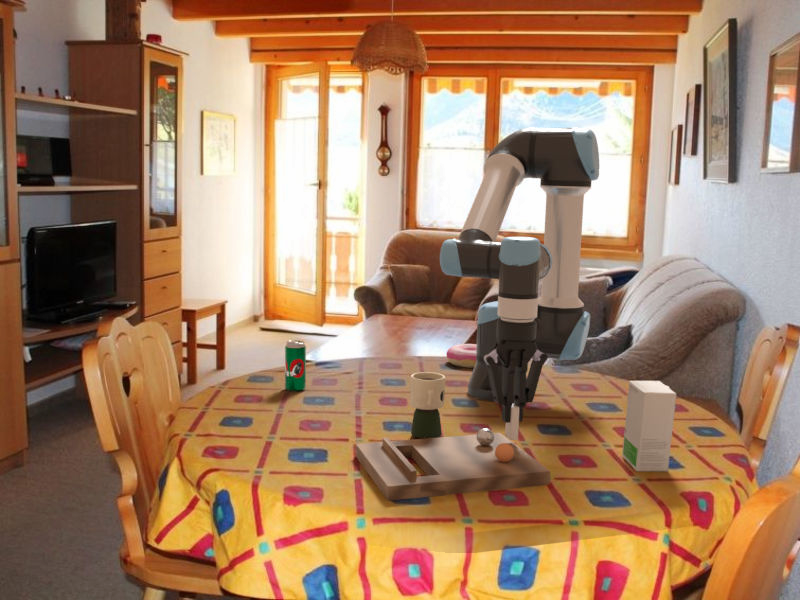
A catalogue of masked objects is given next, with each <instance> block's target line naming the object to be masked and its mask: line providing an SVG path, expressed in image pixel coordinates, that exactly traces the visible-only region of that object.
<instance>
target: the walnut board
mask: <svg viewBox="0 0 800 600" xmlns="http://www.w3.org/2000/svg"><path fill="white" fill-rule="evenodd" d="M493 434H494V441H493V442H492V444H490V445H488V446H483V445H481V444H479V442H478V441H477V434H467V435H454V436H453V435H451V436H440V437H438V438H418V439H417V438H416V439H401V440H390V438H388V437H382V441H377V442H376V441H375V442H363V443H362V442H361V443H355V457H356V459H357V460H358V461H359V463H360V464H361V466H362V468H364V470H365V471H366V473H367V474H368V475H369V477H370V478H371V480H372V481H373V482H374V484H375V486H376V487H377V488H378V489H379V491H380V492H381V493H382V495H383V496H384V498H385V499H386V500H387V501H399V500H408V499H417V498H418V499H419V498H429V497H430V498H431V497H436V496H449V495H450V496H451V495H459V494H460V495H461V494H468V493H478V492H480V493H481V492H486V491H487V492H488V491H490V492H491V491H499V490H508V489H519V488H526V487H527V488H529V487H539V486H548V485H550V483H551V482H550V481H551V479H550V478H551V470H549V469H548V468H547V467H545V466H544V465H542V463H540V461H537V460H536V459H535V458H534V457H532V456H531V455H530V454H528V453H527V452H526V451H524V450H523V449H522V448H521V447H519V446H518V445H517V444H516V443H514V442H513V441H512V440H510V439H509V438H507V437H506V436H505V434H504V435H503V434H502V433H501V432H493ZM502 443H507V444H509V445H511V446H512V448H513V450H514V455H513V458H512V459H511V460H510V461H508V462H502V461H500V460H498V459H497V457H496V455H495V450H496V447H497V446H498V445H499V444H502ZM409 458H411V459H413V461H414V462H415V463H416V464H417V465H418V466H419V467H420V469H422V471H423V472H424V473H425V475H422V476H418V475H417V473H418V471H417V469H416V468H415V467H414V466H413V465H412V464H411V463H410V461H409V460H408V459H409Z"/></svg>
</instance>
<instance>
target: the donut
mask: <svg viewBox="0 0 800 600" xmlns="http://www.w3.org/2000/svg"><path fill="white" fill-rule="evenodd" d="M476 349H477V343H461V344H455V345H452V346H450V347H448V349H447V351H446V358H447V361H448V362H449V363H450V364H451V365H454V366H456V367H462V368H470V369H474V367H475V364H476Z"/></svg>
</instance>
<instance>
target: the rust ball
mask: <svg viewBox="0 0 800 600" xmlns="http://www.w3.org/2000/svg"><path fill="white" fill-rule="evenodd" d="M495 455H496V457H497V459H498V460H500V461H502V462H508V461H510V460H511V459H512V458H513V455H514V450H513V448H512V446H511V445H509V444H507V443H502V444H499V445H498V446H497V447H496V450H495Z"/></svg>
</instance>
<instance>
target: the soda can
mask: <svg viewBox="0 0 800 600" xmlns="http://www.w3.org/2000/svg"><path fill="white" fill-rule="evenodd" d="M284 349H285V350H284V388H285V389H286V391H289V392H293V391H297V392H302V391H304V390H305V389H306V384H307V381H306V377H307V375H306V371H307V369H306V368H307V367H306V366H307V365H306V364H307V363H306V362H307V361H306V360H307V347H306V344H305V341H304V340H298V339H295V340H287V341H286V344H285V346H284Z"/></svg>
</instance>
